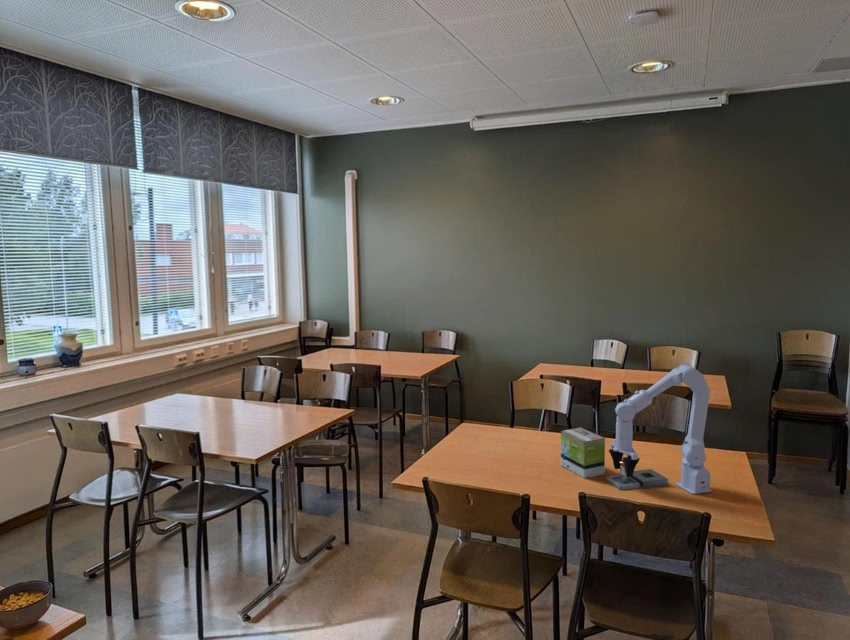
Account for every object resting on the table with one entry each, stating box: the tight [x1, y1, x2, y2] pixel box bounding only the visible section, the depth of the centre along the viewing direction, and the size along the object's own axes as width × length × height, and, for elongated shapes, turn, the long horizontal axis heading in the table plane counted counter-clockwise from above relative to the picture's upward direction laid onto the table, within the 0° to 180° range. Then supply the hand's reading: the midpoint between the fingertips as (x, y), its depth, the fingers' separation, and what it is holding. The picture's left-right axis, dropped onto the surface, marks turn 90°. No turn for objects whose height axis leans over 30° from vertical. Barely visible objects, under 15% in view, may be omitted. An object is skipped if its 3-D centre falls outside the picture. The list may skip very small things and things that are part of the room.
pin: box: [619, 459, 629, 484], centre depth 213 cm, size 4×4×8 cm
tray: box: [606, 474, 641, 491], centre depth 213 cm, size 9×8×2 cm
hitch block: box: [630, 468, 669, 489], centre depth 215 cm, size 10×10×2 cm
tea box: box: [560, 427, 606, 479], centre depth 227 cm, size 15×10×15 cm
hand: (623, 472), depth 213 cm, fingers open, 7 cm apart
